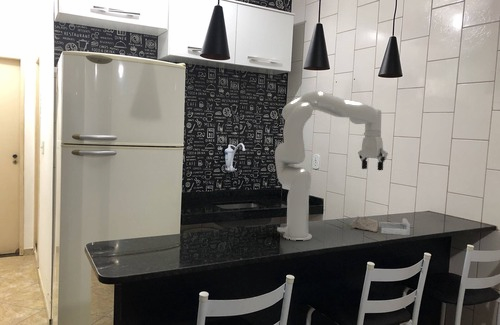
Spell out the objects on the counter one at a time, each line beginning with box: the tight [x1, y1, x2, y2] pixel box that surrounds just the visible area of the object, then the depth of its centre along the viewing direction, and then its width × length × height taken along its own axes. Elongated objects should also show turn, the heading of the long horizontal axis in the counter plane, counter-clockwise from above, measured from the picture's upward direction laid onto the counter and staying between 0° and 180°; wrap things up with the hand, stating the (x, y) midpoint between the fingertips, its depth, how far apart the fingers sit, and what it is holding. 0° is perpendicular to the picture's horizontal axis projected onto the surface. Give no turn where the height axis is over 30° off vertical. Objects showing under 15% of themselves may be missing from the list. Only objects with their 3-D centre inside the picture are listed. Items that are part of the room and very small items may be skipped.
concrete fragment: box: [350, 216, 379, 233], centre depth 197 cm, size 7×14×6 cm, turn 41°
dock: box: [378, 217, 411, 236], centre depth 194 cm, size 12×15×5 cm
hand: (372, 169), depth 197 cm, fingers open, 9 cm apart
